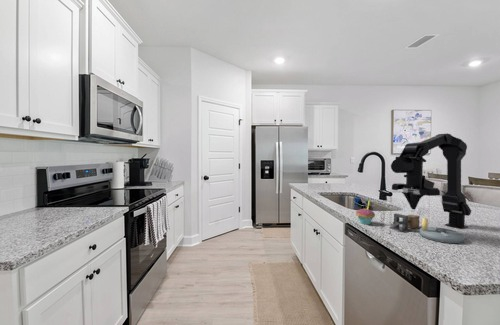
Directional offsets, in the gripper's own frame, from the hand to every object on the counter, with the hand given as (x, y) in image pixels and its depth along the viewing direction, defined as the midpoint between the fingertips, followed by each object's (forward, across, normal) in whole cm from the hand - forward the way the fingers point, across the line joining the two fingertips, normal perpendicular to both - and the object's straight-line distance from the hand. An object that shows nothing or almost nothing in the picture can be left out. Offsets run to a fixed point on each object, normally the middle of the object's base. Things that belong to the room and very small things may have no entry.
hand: (413, 209), depth 105 cm
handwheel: (+10, -7, -6) cm, 14 cm away
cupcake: (+11, +18, +10) cm, 23 cm away
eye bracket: (+10, +6, +1) cm, 12 cm away
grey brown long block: (+10, +6, -1) cm, 12 cm away
